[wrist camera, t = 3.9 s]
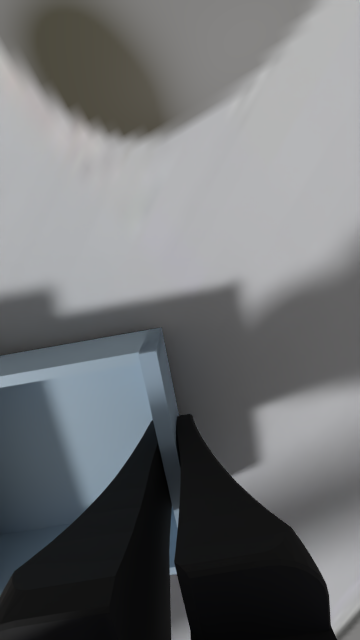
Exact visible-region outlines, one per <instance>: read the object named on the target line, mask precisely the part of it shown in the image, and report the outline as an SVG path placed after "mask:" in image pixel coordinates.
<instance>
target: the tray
mask: <svg viewBox="0 0 360 640" xmlns="http://www.w3.org/2000/svg"><path fill="white" fill-rule="evenodd" d="M177 416H179V413H178V408H177V403H176V398H175V393H174V388H173V383H172V378H171V372H170V367H169V362H168V357H167V352H166V347H165V342H164V337H163V332H162V327H161V328H156V329H150V330H144V331H138V332H133V333H127V334H121V335H116V336H110V337H104V338H99V339H93V340H87V341H82V342H76V343H70V344H64V345H59V346H53V347H47V348H42V349H36V350H30V351H25V352H19V353H13V354H8V355H2V356H0V595H1V593H2V592H3V590H4V588H5V586H6V585H7V583H8V581H9V579H10V578H11V576H12V574H13V572H14V571H15V570H16V569H18V568H19V567H20V566H22V565H23V564H24V563H25V562H27V561H28V560H29V559H30V558H32V557H33V556H34V555H35V554H37V553H38V552H39V551H40V550H42V549H43V548H44V547H45V546H47V545H48V544H49V543H50V542H52V541H53V540H54V539H55V538H56V537H57V536H58V535H60V534H61V533H62V532H63V531H64V530H65V529H66V528H67V527H69V526H70V525H71V524H72V523H73V522H74V521H75V520H76V519H77V518H78V517H79V516H80V515H81V514H82V513H83V512H84V511H85V510H86V509H87V508H88V507H89V506H90V505H91V504H92V503H93V502H94V501H95V500H96V499H97V498H98V497H99V496H100V494H101V493H102V492H103V491H104V490H105V489H106V488H107V486H108V485H109V484H110V483H111V482H112V480H113V479H114V478H115V477H116V475H117V474H118V473H119V471H120V470H121V468H122V467H123V466H124V464H125V463H126V461H127V460H128V459H129V457H130V456H131V454H132V453H133V451H134V449H135V448H136V446H137V445H138V443H139V441H140V440H141V438H142V436H143V435H144V433H145V431H146V429H147V428H148V426H149V424H150V422H151V421H152V420H153V422H154V427H155V431H156V435H157V440H158V444H159V449H160V453H161V458H162V462H163V467H164V471H165V475H166V480H167V484H168V489H169V493H170V498H171V502H172V511H171V526H170V548H169V556H170V575H173V574H177V572H176V568H175V564H174V558H175V550H176V540H177V530H178V518H179V503H180V477H181V460H180V451H179V443H178V436H177V428H176V420H177Z"/></svg>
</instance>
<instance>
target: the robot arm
mask: <svg viewBox="0 0 360 640" xmlns="http://www.w3.org/2000/svg"><path fill="white" fill-rule="evenodd" d="M176 428H177V436H178V443H179V451H180V460H181V477H180V503H179V518H178V530H177V540H176V550H175V558H174V564H175V568H176V572H177V576H178V580H179V584H180V588H181V593H182V597H183V601H184V605H185V609H186V613H187V618H188V622H189V626H190V630H191V640H337V639H336V637H335V634H334V632H333V630H332V627H331V623H330V605H329V594H328V590H327V585H326V583H325V581H324V579H323V577H322V575H321V573H320V571H319V569H318V567H317V566H316V564H315V562H314V561H313V559H312V557H311V555H310V554H309V552H308V551H307V549H306V548H305V546H304V545H303V543H302V542H301V540H300V539H299V537H298V536H297V535H296V533H295V532H294V530H293V529H292V528H291V527H290V526H289V525H287V524H286V523H284V522H283V521H282V520H280V519H279V518H278V517H276V516H275V515H274V514H272V513H271V512H270V511H268V510H267V509H266V508H265V507H264V506H262V505H261V504H260V503H259V502H258V501H256V500H255V499H254V498H253V497H252V496H251V495H250V494H249V493H248V492H247V491H245V490H244V489H243V488H242V487H241V486H240V485H239V484H238V483H237V482H236V481H235V480H234V479H233V478H232V477H231V476H230V475H229V473H228V472H227V471H226V470H225V469H224V468H223V467H222V465H221V464H220V463H219V462H218V460H217V459H216V458H215V456H214V455H213V454H212V452H211V451H210V450H209V448H208V447H207V445H206V443H205V442H204V440H203V439H202V437H201V435H200V433H199V432H198V430H197V428H196V425H195V423H194V420H193V416H192V415H191V414H187V415H181V416H177V420H176ZM171 511H172V502H171V498H170V493H169V489H168V484H167V480H166V475H165V471H164V467H163V462H162V458H161V453H160V449H159V444H158V440H157V435H156V431H155V427H154V422H153V420H152V421H151V422H150V424H149V426H148V428H147V429H146V431H145V433H144V435H143V436H142V438H141V440H140V441H139V443H138V445H137V446H136V448H135V449H134V451H133V453H132V454H131V456H130V457H129V459H128V460H127V461H126V463H125V464H124V466H123V467H122V468H121V470H120V471H119V473H118V474H117V475H116V477H115V478H114V479H113V480H112V482H111V483H110V484H109V485H108V486H107V488H106V489H105V490H104V491H103V492H102V493H101V494H100V496H99V497H98V498H97V499H96V500H95V501H94V502H93V503H92V504H91V505H90V506H89V507H88V508H87V509H86V510H85V511H84V512H83V513H82V514H81V515H80V516H79V517H78V518H77V519H76V520H75V521H74V522H73V523H72V524H71V525H70V526H69V527H67V528H66V529H65V530H64V531H63V532H62V533H61V534H60V535H58V536H57V537H56V538H55V539H54V540H53V541H52V542H50V543H49V544H48V545H47V546H45V547H44V548H43V549H42V550H40V551H39V552H38V553H37V554H35V555H34V556H33V557H32V558H30V559H29V560H28V561H27V562H25V563H24V564H23V565H22V566H20V567H19V568H18V569H16V570H15V571H14V572H13V574H12V576H11V578H10V579H9V581H8V583H7V585H6V586H5V588H4V590H3V592H2V593H1V595H0V640H171V614H170V556H169V548H170V526H171Z"/></svg>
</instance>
